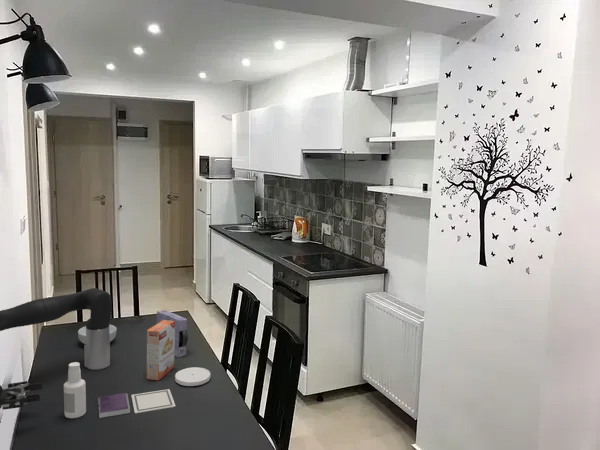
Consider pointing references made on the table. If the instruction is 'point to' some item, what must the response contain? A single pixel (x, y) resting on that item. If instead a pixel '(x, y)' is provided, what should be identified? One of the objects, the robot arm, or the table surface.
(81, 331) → the cereal bowl
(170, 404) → the marked sheet
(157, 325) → the cracker box
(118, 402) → the ink pad
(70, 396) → the spray bottle
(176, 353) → the cake pan box
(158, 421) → the table surface
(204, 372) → the plastic lid
